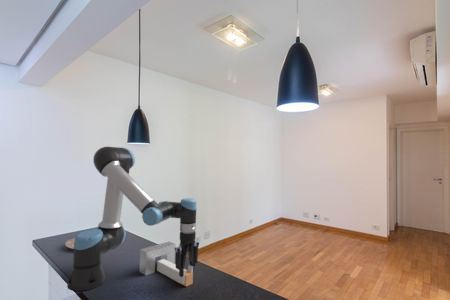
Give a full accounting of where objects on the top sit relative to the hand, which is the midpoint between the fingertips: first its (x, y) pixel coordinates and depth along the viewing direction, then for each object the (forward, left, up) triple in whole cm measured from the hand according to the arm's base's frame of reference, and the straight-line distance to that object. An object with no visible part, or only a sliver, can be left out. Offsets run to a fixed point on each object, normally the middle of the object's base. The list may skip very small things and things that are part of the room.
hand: (186, 281), depth 116 cm
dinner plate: (+49, +72, -2) cm, 87 cm away
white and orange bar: (+7, +7, -1) cm, 10 cm away
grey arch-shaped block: (+16, +18, -1) cm, 24 cm away
